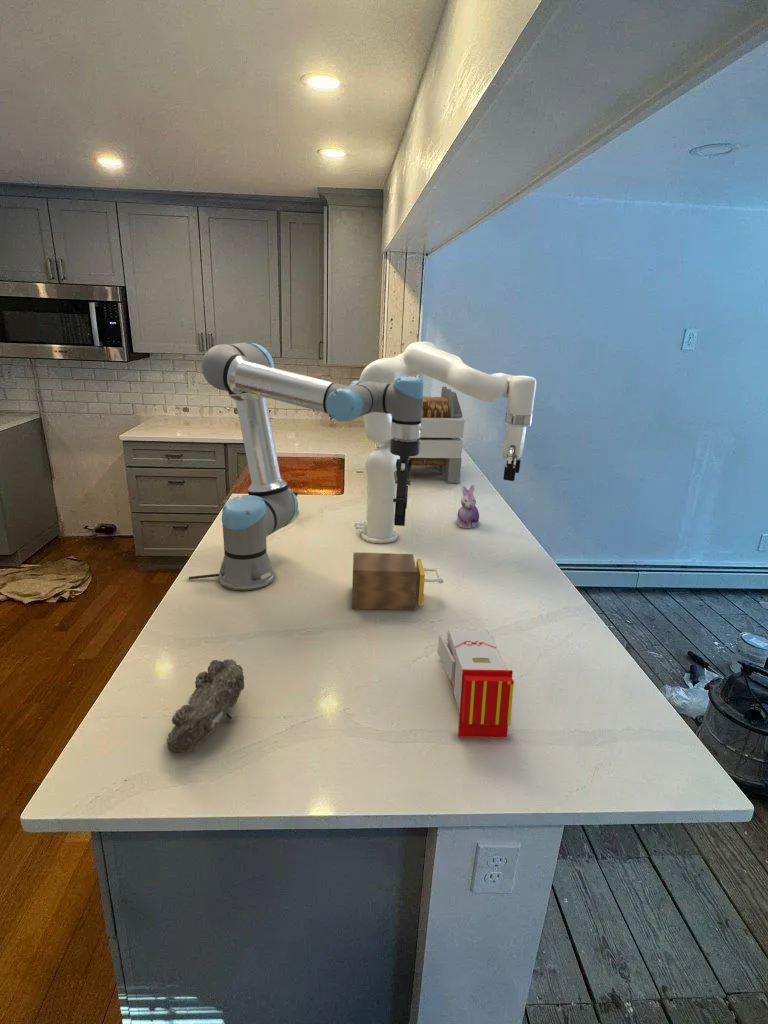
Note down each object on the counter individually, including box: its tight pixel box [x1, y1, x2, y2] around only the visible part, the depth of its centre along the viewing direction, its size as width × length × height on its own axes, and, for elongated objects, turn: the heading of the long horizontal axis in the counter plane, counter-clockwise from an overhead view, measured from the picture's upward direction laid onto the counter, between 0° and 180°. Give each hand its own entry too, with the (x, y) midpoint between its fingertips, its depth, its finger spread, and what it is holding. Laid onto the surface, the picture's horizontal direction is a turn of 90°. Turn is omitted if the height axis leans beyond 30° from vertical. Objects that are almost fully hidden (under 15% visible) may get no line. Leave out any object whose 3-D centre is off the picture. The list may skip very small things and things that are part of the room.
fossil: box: [166, 658, 245, 754], centre depth 106 cm, size 22×10×15 cm
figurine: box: [456, 484, 480, 529], centre depth 209 cm, size 9×10×15 cm
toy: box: [437, 628, 515, 738], centre depth 117 cm, size 12×13×30 cm
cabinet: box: [351, 552, 417, 611], centre depth 153 cm, size 16×11×11 cm
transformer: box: [394, 386, 465, 484], centre depth 268 cm, size 34×33×41 cm
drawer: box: [415, 558, 444, 606], centre depth 153 cm, size 20×10×9 cm, turn 92°
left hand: (400, 516), depth 153 cm, fingers open, 13 cm apart
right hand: (511, 476), depth 171 cm, fingers open, 9 cm apart
